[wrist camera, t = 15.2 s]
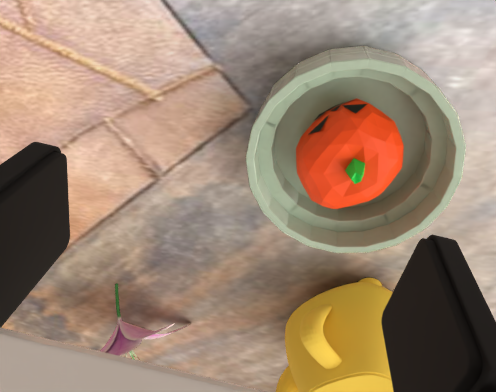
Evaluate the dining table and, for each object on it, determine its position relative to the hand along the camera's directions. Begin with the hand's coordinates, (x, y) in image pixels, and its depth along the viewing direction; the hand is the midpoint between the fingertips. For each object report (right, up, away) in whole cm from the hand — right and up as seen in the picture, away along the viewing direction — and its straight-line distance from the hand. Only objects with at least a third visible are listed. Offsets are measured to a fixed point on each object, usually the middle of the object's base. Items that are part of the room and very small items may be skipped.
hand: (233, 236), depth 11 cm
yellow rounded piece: (+9, -12, +31) cm, 35 cm away
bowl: (+8, +5, +22) cm, 24 cm away
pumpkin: (+8, +5, +21) cm, 23 cm away
